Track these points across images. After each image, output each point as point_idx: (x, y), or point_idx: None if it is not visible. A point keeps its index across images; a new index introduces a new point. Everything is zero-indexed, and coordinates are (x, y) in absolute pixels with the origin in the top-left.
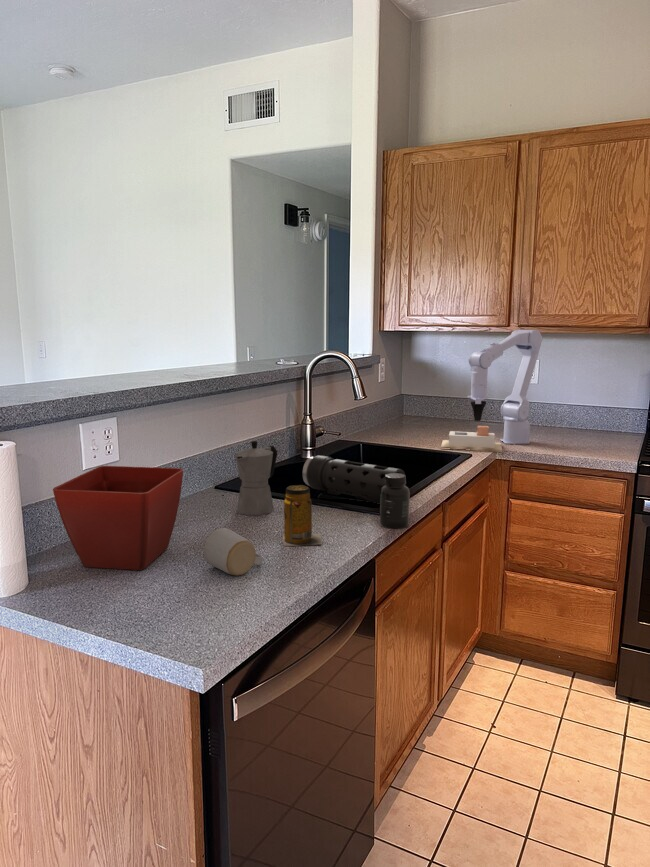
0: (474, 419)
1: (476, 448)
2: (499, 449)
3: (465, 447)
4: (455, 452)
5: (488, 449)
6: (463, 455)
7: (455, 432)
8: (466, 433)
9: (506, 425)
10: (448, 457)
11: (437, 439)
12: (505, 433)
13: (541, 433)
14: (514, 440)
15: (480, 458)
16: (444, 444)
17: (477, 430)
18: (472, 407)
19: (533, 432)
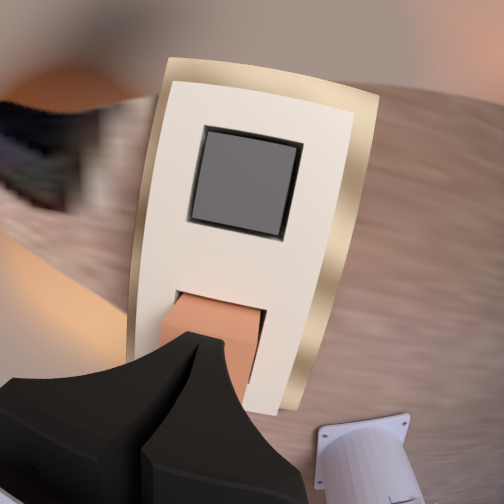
0: (183, 333)
1: (133, 256)
2: (126, 362)
3: (144, 196)
4: (96, 136)
5: (128, 315)
6: (44, 171)
7: (304, 146)
8: (239, 226)
9: (364, 488)
10: (18, 107)
11: (453, 97)
12: (361, 456)
13: (464, 498)
14: (323, 461)
15: (12, 238)
16: (228, 78)
17: (236, 321)
18: (64, 379)
19: (483, 483)
